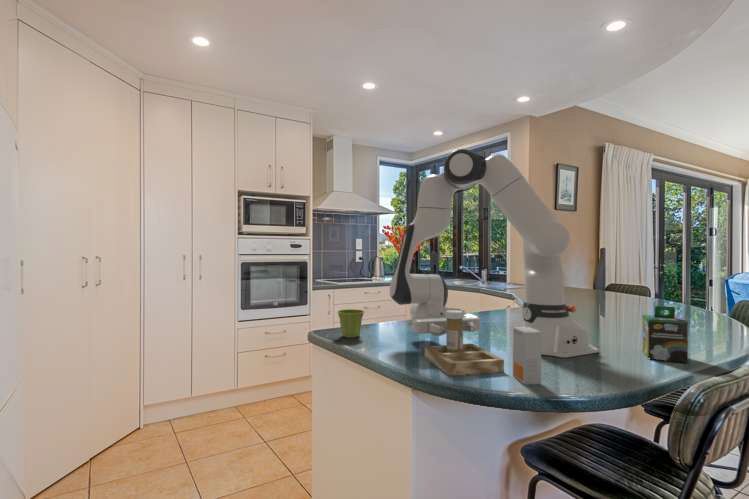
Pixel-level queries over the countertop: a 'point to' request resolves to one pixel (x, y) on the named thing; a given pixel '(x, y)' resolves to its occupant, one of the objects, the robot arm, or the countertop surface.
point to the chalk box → (665, 336)
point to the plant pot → (350, 322)
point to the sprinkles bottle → (454, 331)
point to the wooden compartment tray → (464, 360)
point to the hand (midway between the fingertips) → (457, 329)
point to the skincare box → (527, 355)
